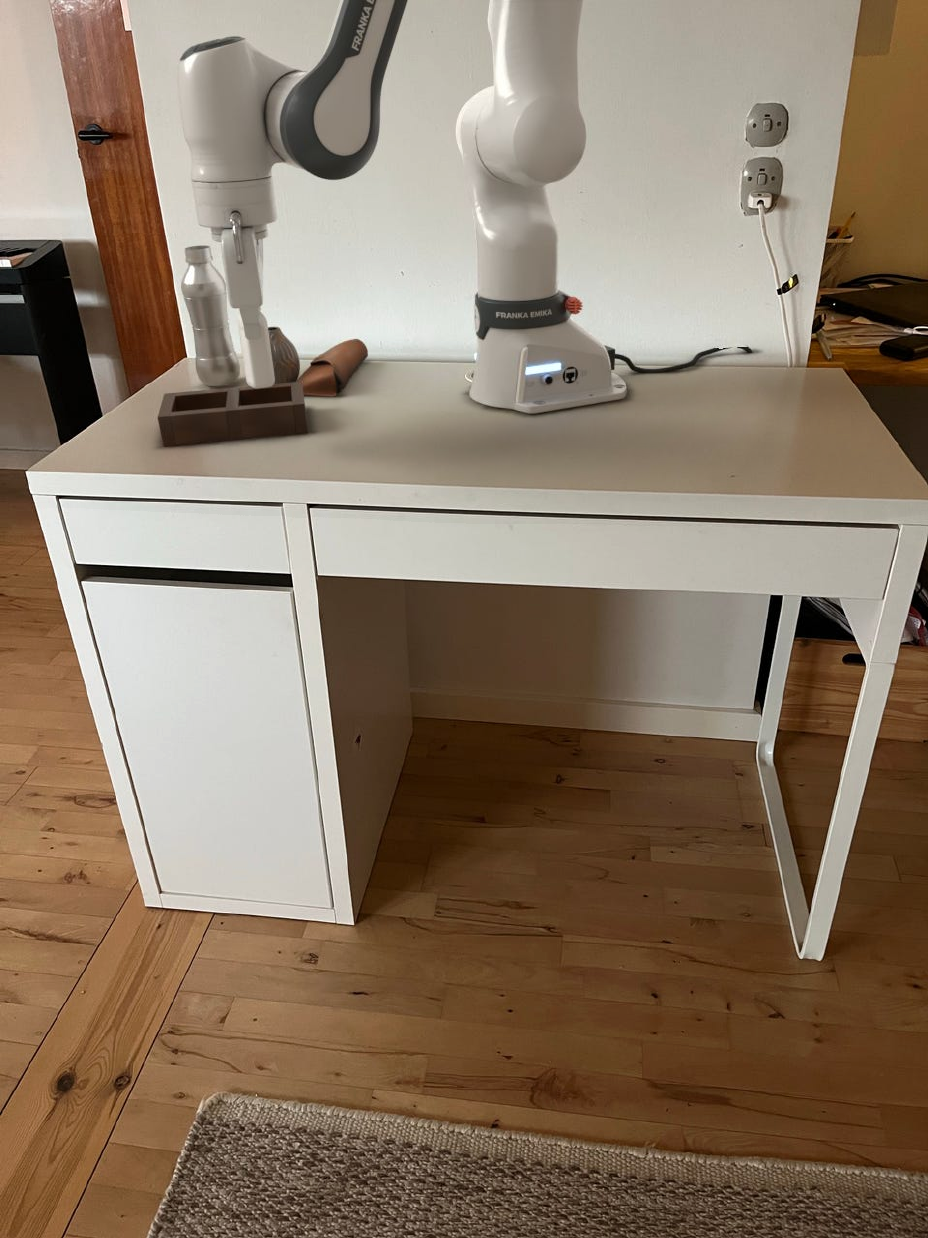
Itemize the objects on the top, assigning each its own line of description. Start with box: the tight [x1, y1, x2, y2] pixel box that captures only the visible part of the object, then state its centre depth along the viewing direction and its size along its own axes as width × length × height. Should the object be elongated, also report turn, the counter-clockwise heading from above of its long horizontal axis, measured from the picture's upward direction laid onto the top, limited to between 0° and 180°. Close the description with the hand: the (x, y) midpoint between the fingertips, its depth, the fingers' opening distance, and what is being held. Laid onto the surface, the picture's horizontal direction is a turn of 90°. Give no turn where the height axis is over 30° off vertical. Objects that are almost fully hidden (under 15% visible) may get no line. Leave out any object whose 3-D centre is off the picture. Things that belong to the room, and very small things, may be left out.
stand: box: [156, 382, 309, 447], centre depth 129 cm, size 19×10×4 cm, turn 100°
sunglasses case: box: [296, 338, 369, 398], centre depth 148 cm, size 18×7×7 cm, turn 173°
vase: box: [268, 326, 301, 384], centre depth 143 cm, size 7×7×9 cm
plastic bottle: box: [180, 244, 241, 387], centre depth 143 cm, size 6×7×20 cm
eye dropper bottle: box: [237, 306, 275, 388], centre depth 115 cm, size 4×6×12 cm
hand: (253, 330), depth 115 cm, fingers closed on eye dropper bottle, 5 cm apart
